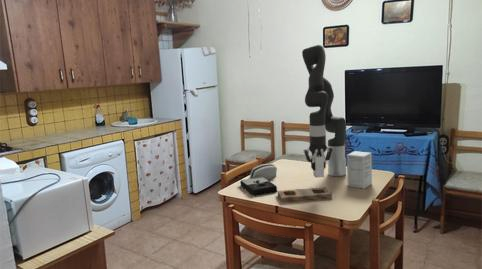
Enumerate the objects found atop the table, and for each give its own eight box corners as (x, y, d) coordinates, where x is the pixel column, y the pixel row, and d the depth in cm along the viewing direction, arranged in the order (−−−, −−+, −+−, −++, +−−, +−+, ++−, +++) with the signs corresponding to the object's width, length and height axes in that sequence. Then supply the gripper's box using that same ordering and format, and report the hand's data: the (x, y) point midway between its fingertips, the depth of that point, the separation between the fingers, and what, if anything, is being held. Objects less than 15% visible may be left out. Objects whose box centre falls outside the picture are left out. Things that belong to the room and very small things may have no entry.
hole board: (325, 191, 182) (325, 186, 181) (331, 198, 172) (331, 193, 171) (277, 195, 180) (277, 190, 180) (281, 203, 170) (281, 197, 170)
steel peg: (321, 174, 177) (321, 154, 175) (324, 176, 173) (323, 156, 171) (313, 175, 177) (312, 155, 175) (315, 177, 173) (315, 157, 171)
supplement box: (372, 184, 189) (372, 152, 186) (364, 189, 183) (364, 156, 180) (354, 181, 196) (354, 150, 193) (346, 185, 189) (346, 154, 186)
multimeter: (253, 197, 181) (253, 187, 180) (240, 186, 199) (239, 177, 198) (277, 192, 186) (277, 183, 185) (262, 182, 203) (261, 174, 203)
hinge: (271, 174, 216) (274, 160, 211) (276, 179, 212) (278, 164, 208) (247, 180, 208) (249, 165, 203) (251, 185, 204) (254, 170, 199)
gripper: (329, 131, 175) (330, 166, 178) (300, 134, 174) (301, 168, 177) (335, 134, 168) (335, 170, 171) (304, 137, 167) (305, 173, 170)
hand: (318, 169), depth 174 cm, fingers closed on steel peg, 4 cm apart
